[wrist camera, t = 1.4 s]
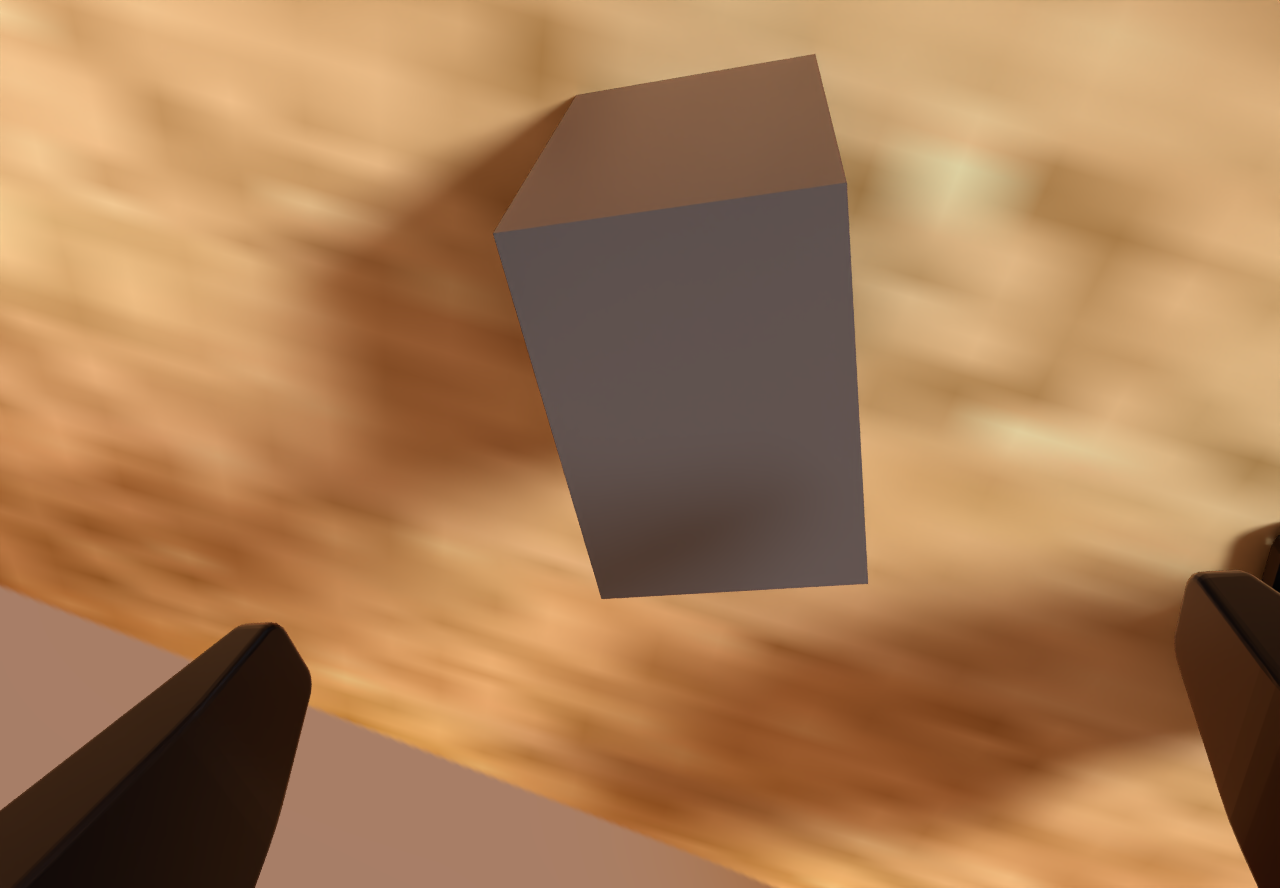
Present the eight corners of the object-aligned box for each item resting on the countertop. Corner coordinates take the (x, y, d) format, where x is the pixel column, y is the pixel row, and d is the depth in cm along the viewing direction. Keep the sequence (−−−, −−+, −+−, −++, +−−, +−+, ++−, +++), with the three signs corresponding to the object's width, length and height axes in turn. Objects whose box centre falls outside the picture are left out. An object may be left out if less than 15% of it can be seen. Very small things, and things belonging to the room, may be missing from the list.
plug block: (814, 53, 14) (846, 182, 9) (836, 369, 18) (867, 584, 13) (576, 95, 15) (493, 233, 10) (641, 389, 18) (601, 599, 14)
